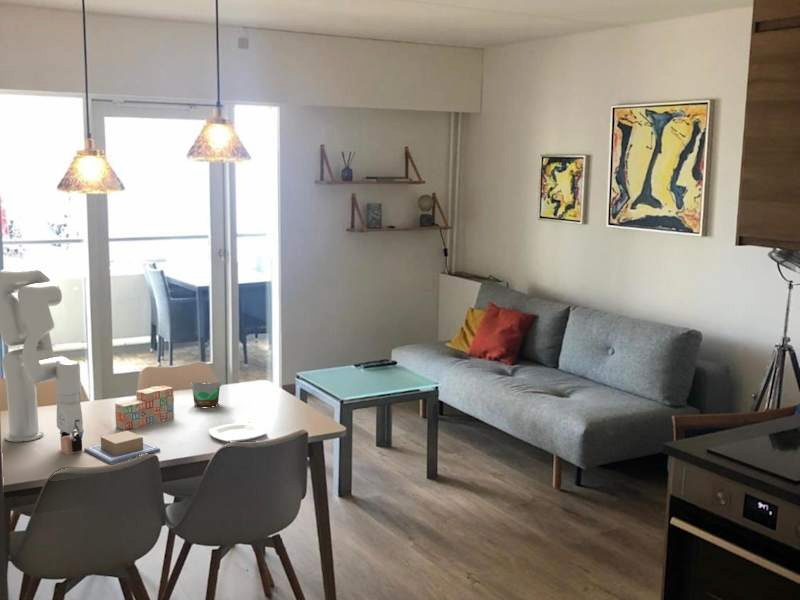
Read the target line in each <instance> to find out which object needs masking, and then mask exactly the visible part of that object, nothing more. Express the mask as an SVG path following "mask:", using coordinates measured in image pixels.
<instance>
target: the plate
mask: <svg viewBox="0 0 800 600" xmlns="http://www.w3.org/2000/svg"><path fill="white" fill-rule="evenodd" d="M208 433H209V435H210V436H211V437H212V438H214V439H216V440H218V441H219V440H220V441H223V442H225V441H226V443H228V442H230V441H241V442H246V440H247V441H251V440H255V439H258V438H260V437H262V436H265V435H267V434H268V432H267V431H266V430H265V428H264V427H262V426H260V425H259V424H256V423H255V424H254V423H251V422H236V423H229V424H223V425H222V424H221V425H219V426H215V427H211V428H208Z"/></svg>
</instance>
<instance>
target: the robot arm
mask: <svg viewBox="0 0 800 600" xmlns="http://www.w3.org/2000/svg"><path fill="white" fill-rule="evenodd" d="M14 293H15V294H16V293H17V297H16V296H15V295H14ZM62 299H63V293H62V290H61V288H60V286H59V285H58V284H57V282H56V281H55V280H53V279H52V277H50V276H49V275H48V274H46V272H44V271H43V270H42V269H40V268H39V267H36V266H25V267H24V266H23V267H14V268H13V267H12V268H6V269H0V338H1V340H2V342H3V344H4V345H5V346H8V347H16V346H22V345H23V347H22V348H18V349H14V350H11V351H8V352H6V353H5V354H4V355H3V357H2V359H1V366H2V371H3V375H4V378H5V379H4V380H5V386H6V397H7V414H8V415H7V416H8V432H6V433H5V434H4V440H6V441H8V442H12V443H13V442H14V443H22V442H23V441H24V442H30V441H35V440H37V439H40V438H42V437H43V436H44V430H42V429H40V428H39V414H38V413H39V412H38V397H37V396H38V394H37V386H36V384H42V383H43V384H44V383H48V382H51V381H56V383H55V384H56V401H57V405H56V427H57V429H58V430H60V431H59V434H60V438H61V437H63V436H67V435H72V438H73V440H72V452H77V451H81V450H82V451H83V434H84V428H83V427H84V426H83V413H82V405H81V403H82V386H81V383H82V382H81V366H80V365H81V364H80V363H79V361H77V360H73V359H72V360H70V359H68V358H67V357H64V356H56V357H55V353H54V349H53V344H52V338H51V333H50V332H51V331H53V329H54V328H55V322H54V320H53V316H52V312H51V309H50V307H55V306H58V305H60V304H61V302H62ZM75 434H76V436H75ZM82 451H81V452H82ZM77 453H78V452H77Z"/></svg>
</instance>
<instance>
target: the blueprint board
mask: <svg viewBox="0 0 800 600" xmlns="http://www.w3.org/2000/svg"><path fill="white" fill-rule="evenodd" d="M83 451H84V452H85V453H88V454H90V455H92V456H94V458H98V459H100V460H102V461H104V462H105V463H107V464H109V465H113V464H116V463H122V462H125V461H127V460H128V459H129V460H131V459H130V458H133V459H135V458H134V457H136V456H139V455H141V454H145V453H152V454H156V453H159V452H160V451H161V448H160V447H157V446H155V445H153V444H150V443H149V442H146V441H144V437H143V436H142V435H139V434H137V433H135V432H133V431H131V430H123V431H120V432H116V433H112V434H108V435H103V436H100V444H95V445H93V446H92V445H91V446H87V447H84V450H83ZM155 452H156V453H155ZM136 458H137V457H136Z"/></svg>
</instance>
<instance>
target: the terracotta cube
mask: <svg viewBox="0 0 800 600" xmlns="http://www.w3.org/2000/svg"><path fill="white" fill-rule="evenodd" d="M74 434H75V436H76V434H77V433H74ZM72 440H73V438H72V435H67V436H63V437H61V436H60V451H61V452H62V451H63V452H62V453H64V452H65V453H64V454H66V453H67V454H66V455H72V454H77V453H79V452H83V449H82V450H81V451H77V452H72Z"/></svg>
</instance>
